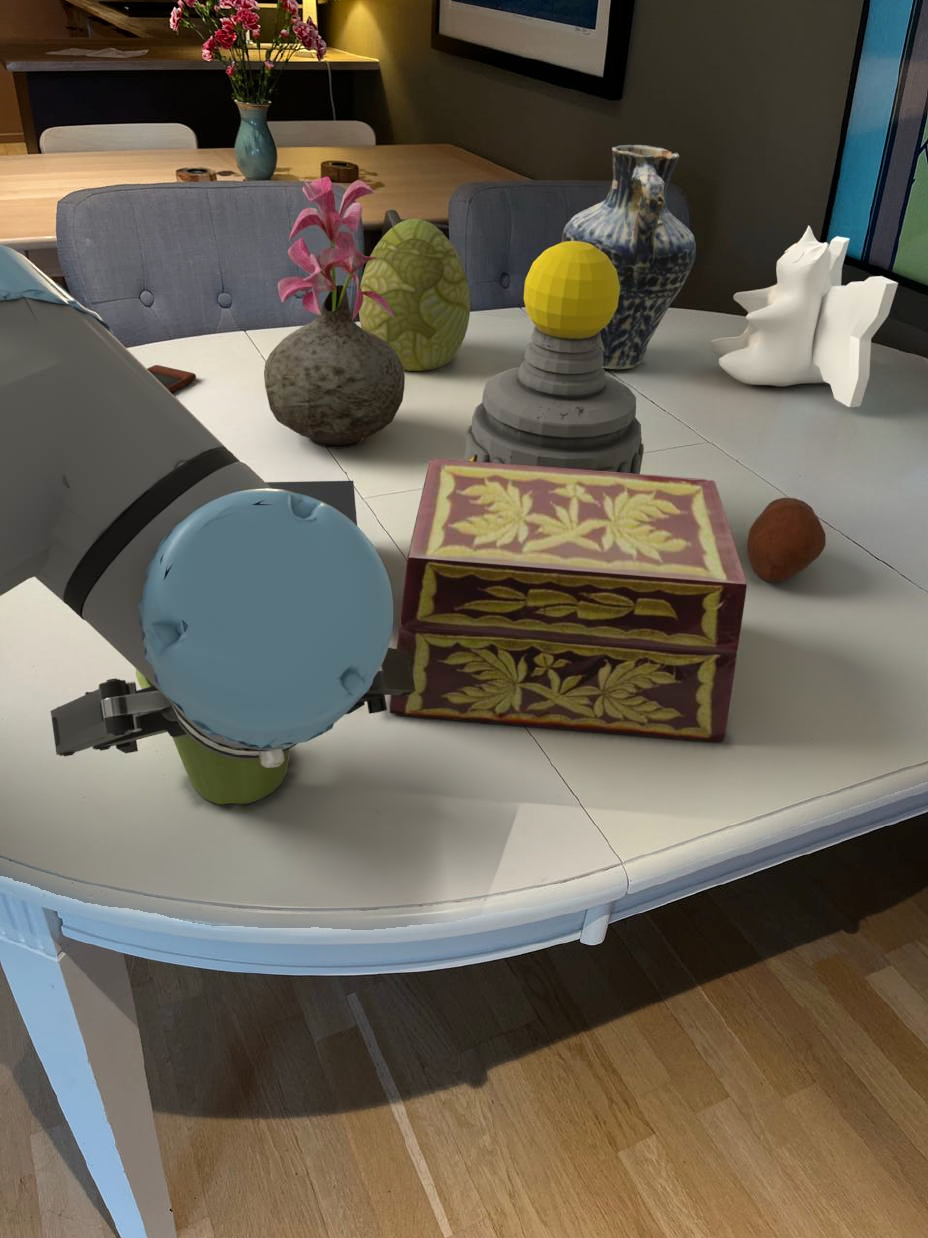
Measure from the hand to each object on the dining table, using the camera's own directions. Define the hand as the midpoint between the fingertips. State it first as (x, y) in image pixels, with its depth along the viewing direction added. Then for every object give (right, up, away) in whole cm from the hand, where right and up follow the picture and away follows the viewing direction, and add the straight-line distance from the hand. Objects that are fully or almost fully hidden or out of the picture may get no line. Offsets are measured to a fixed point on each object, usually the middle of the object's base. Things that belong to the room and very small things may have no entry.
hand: (237, 712), depth 62 cm
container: (-4, +10, +31) cm, 33 cm away
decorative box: (+23, +2, +23) cm, 33 cm away
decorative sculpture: (+7, +45, +83) cm, 95 cm away
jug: (+38, +46, +86) cm, 105 cm away
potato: (+48, +11, +38) cm, 62 cm away
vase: (-1, +29, +60) cm, 66 cm away
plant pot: (-2, -6, +10) cm, 12 cm away
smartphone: (-29, +37, +67) cm, 82 cm away
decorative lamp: (+24, +16, +43) cm, 52 cm away
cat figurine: (+63, +42, +83) cm, 112 cm away
